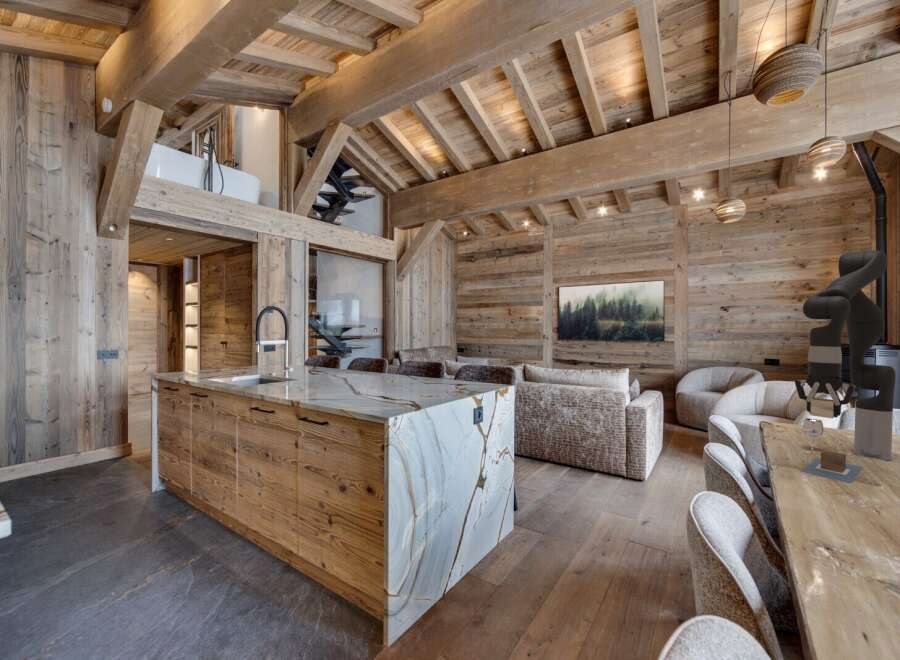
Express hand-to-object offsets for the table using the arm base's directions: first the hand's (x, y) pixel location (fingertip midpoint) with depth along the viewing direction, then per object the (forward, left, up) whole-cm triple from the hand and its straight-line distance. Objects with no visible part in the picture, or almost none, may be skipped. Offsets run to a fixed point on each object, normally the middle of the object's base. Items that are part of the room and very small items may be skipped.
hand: (823, 415), depth 122 cm
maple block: (0, 0, 0) cm, 0 cm away
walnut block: (-6, +2, -18) cm, 19 cm away
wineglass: (-29, -7, -19) cm, 36 cm away
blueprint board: (-6, +2, -19) cm, 20 cm away
